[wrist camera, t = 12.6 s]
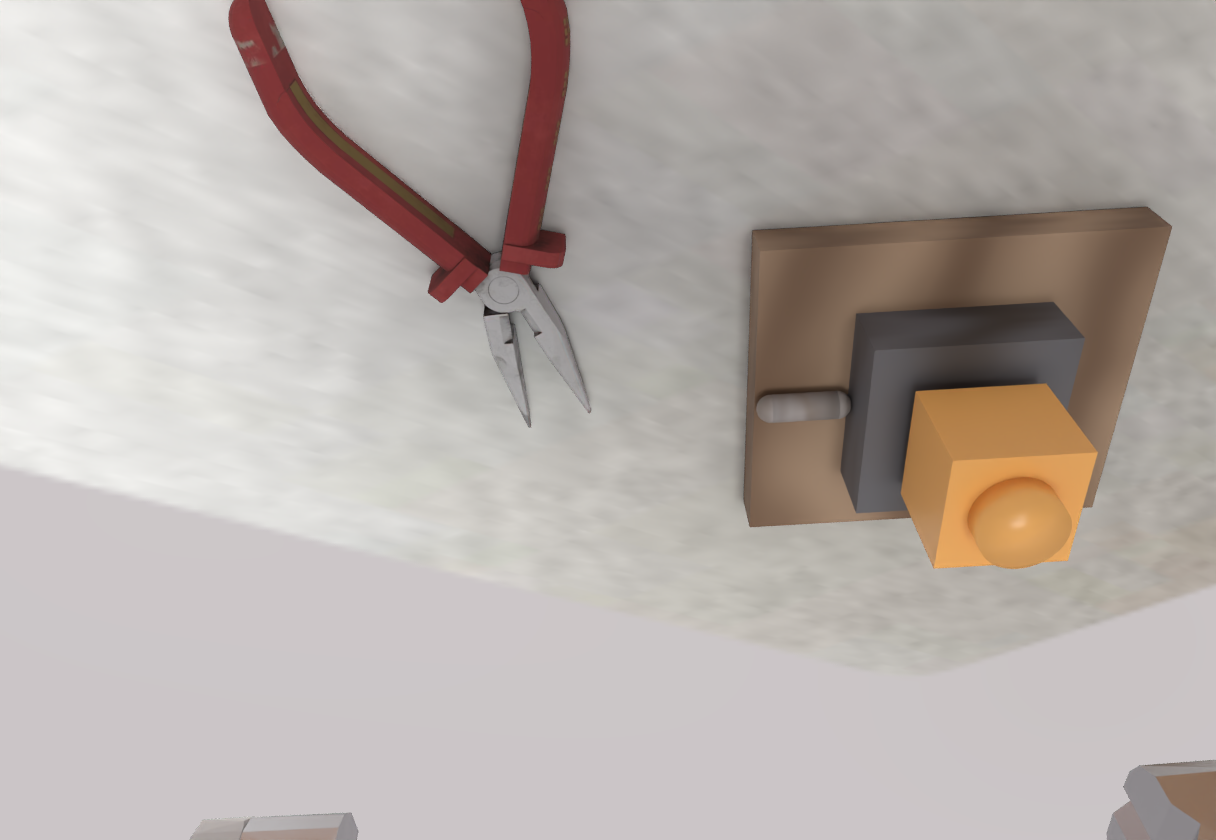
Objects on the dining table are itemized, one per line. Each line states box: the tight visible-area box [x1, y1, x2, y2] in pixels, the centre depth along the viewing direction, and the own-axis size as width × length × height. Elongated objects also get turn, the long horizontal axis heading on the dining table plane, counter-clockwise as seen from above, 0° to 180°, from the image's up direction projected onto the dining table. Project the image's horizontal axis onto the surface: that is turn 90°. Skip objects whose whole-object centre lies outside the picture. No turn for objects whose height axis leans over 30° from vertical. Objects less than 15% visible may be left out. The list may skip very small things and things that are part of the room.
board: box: [744, 207, 1172, 527], centre depth 40 cm, size 16×14×10 cm
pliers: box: [228, 0, 591, 428], centre depth 39 cm, size 12×20×3 cm, turn 17°
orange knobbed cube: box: [901, 383, 1098, 569], centre depth 37 cm, size 5×5×6 cm
